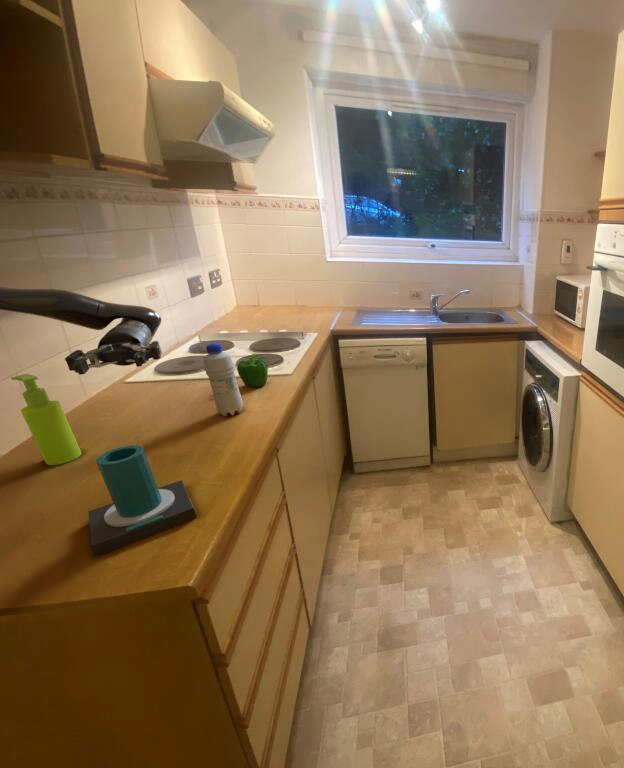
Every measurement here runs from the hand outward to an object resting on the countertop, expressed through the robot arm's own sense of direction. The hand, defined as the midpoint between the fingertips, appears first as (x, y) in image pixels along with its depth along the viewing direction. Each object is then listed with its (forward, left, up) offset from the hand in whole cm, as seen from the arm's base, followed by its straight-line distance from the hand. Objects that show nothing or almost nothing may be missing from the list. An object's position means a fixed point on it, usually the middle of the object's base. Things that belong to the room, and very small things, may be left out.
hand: (108, 365), depth 83 cm
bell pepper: (+32, +39, -25) cm, 56 cm away
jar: (-2, -17, -22) cm, 28 cm away
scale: (-2, -17, -25) cm, 30 cm away
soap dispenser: (-13, +22, -25) cm, 36 cm away
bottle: (+21, +22, -25) cm, 39 cm away
